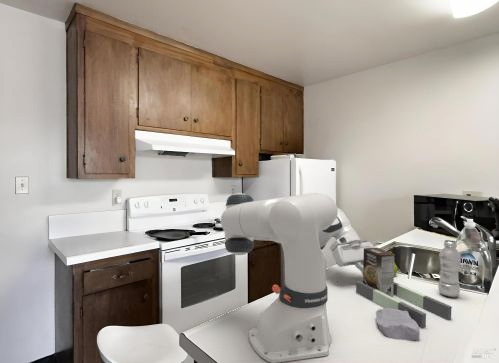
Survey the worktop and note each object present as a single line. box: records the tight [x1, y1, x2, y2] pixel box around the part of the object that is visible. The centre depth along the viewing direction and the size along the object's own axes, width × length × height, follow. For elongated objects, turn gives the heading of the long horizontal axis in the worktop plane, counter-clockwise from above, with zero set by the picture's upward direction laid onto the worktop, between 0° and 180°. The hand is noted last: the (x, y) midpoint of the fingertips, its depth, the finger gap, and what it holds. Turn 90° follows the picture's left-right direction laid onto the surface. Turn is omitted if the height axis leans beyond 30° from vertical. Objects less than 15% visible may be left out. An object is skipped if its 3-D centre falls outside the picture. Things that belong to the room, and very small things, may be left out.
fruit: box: [388, 247, 399, 276], centre depth 123 cm, size 6×6×12 cm
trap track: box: [355, 280, 453, 329], centre depth 96 cm, size 13×26×4 cm, turn 23°
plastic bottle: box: [437, 239, 462, 298], centre depth 103 cm, size 6×7×20 cm
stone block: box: [375, 308, 421, 341], centre depth 82 cm, size 12×5×10 cm
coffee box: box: [362, 247, 396, 298], centre depth 104 cm, size 9×6×16 cm
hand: (366, 273), depth 109 cm, fingers closed
